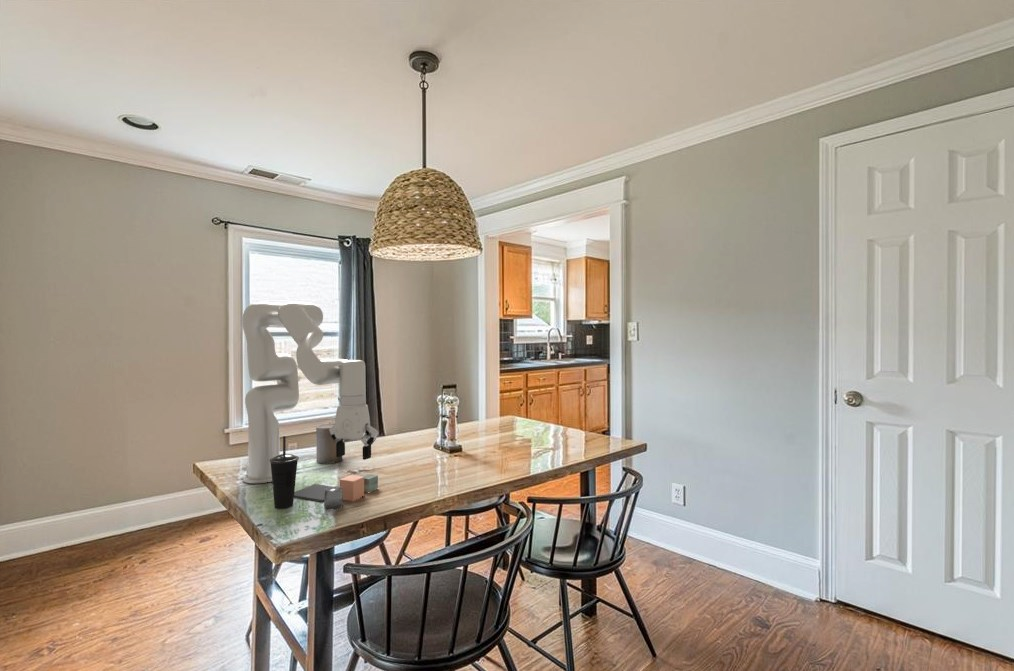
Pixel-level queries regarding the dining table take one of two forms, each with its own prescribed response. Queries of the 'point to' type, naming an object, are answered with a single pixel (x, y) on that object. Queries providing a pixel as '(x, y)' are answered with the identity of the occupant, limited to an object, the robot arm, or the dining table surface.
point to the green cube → (370, 482)
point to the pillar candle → (325, 445)
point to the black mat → (312, 492)
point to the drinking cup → (283, 478)
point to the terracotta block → (352, 487)
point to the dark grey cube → (333, 497)
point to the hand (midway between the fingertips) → (353, 457)
